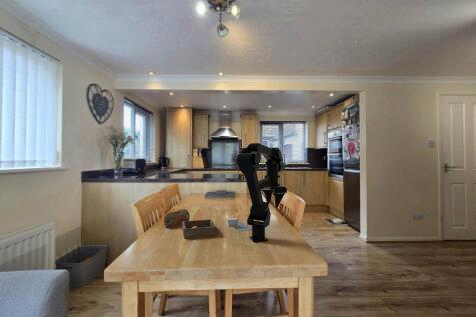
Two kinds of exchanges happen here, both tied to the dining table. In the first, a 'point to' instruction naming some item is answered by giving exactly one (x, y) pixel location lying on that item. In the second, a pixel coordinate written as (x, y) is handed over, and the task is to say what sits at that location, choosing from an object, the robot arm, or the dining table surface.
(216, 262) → the dining table surface
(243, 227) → the lid
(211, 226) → the box
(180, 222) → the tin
